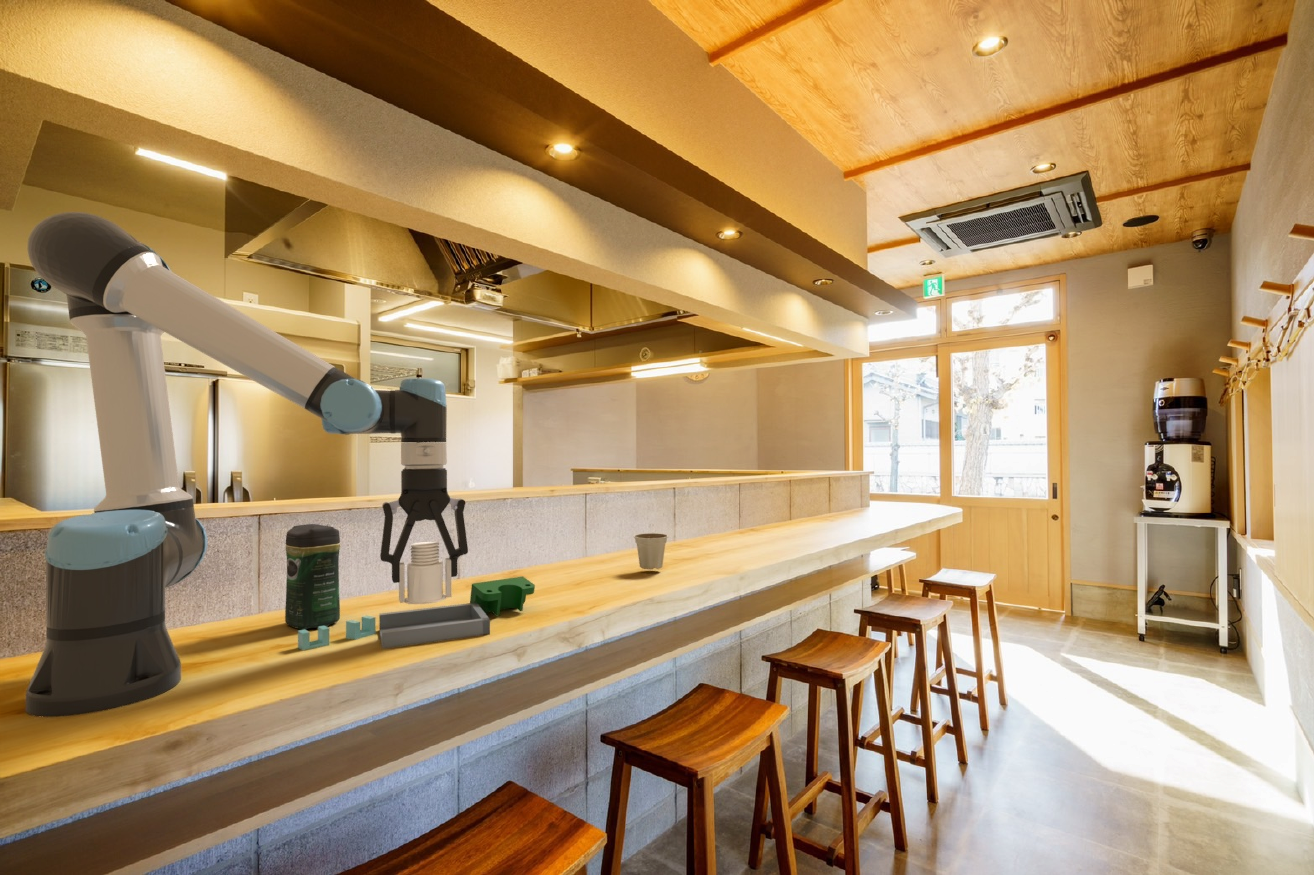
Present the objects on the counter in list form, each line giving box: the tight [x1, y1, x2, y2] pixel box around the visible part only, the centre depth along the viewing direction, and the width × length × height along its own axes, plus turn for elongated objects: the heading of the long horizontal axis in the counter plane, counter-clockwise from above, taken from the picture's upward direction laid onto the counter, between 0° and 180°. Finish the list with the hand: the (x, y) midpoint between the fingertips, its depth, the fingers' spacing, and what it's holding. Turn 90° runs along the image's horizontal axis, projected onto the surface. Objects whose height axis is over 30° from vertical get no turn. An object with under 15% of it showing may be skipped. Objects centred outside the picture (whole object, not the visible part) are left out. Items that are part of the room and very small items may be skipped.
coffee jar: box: [284, 523, 341, 630], centre depth 114 cm, size 10×8×19 cm
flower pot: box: [633, 532, 669, 570], centre depth 165 cm, size 9×9×9 cm
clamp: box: [469, 576, 536, 616], centre depth 121 cm, size 12×6×9 cm, turn 127°
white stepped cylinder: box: [404, 541, 447, 605], centre depth 107 cm, size 8×7×10 cm
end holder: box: [378, 602, 491, 650], centre depth 108 cm, size 17×13×3 cm
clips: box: [297, 615, 377, 651], centre depth 103 cm, size 12×3×3 cm, turn 141°
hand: (425, 598), depth 107 cm, fingers closed on white stepped cylinder, 7 cm apart
